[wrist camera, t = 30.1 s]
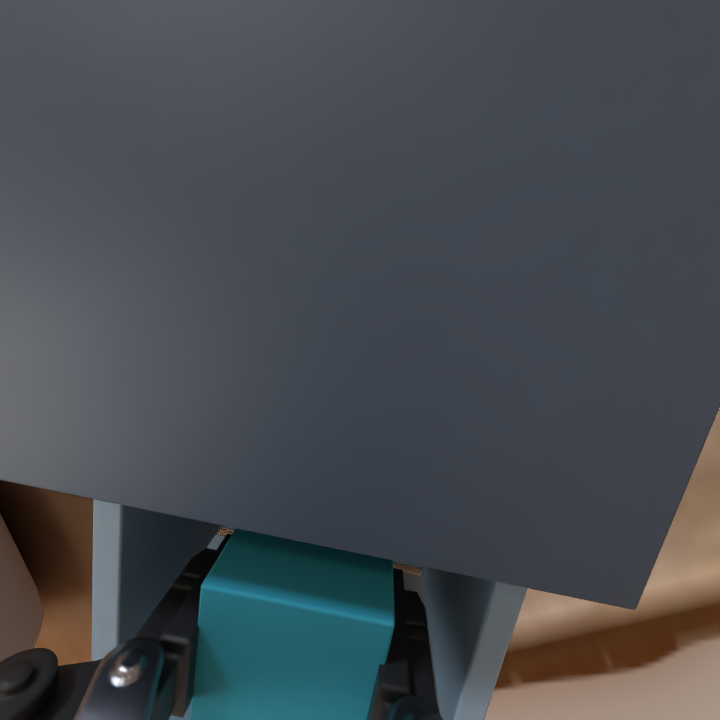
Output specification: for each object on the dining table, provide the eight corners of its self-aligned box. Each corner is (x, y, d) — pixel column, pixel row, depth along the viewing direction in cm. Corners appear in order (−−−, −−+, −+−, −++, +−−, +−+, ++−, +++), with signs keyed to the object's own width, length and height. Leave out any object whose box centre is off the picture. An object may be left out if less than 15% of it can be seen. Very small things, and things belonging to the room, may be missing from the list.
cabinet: (492, 424, 17) (636, 612, 7) (208, 370, 17) (-17, 477, 8) (597, 36, 13) (1147, -616, 4) (241, -17, 14) (-92, -711, 4)
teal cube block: (252, 584, 13) (187, 731, 9) (265, 478, 12) (199, 585, 8) (369, 607, 13) (361, 769, 9) (391, 502, 12) (395, 625, 8)
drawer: (419, 676, 19) (442, 949, 11) (190, 626, 19) (58, 855, 11) (516, 312, 15) (662, 340, 7) (221, 260, 15) (47, 231, 7)
